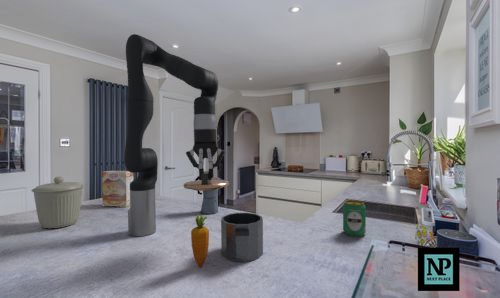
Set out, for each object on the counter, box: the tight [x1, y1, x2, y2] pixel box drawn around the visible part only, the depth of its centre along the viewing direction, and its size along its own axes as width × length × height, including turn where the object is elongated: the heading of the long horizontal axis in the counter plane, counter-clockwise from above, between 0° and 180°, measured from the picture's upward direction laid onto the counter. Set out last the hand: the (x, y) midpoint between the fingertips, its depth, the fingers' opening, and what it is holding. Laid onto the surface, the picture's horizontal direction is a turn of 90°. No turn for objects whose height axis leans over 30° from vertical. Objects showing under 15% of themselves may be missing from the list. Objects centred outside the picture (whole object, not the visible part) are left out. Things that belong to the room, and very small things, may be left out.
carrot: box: [190, 214, 210, 268], centre depth 72 cm, size 5×5×15 cm
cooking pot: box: [220, 212, 264, 263], centre depth 81 cm, size 13×17×11 cm
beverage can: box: [342, 199, 367, 238], centre depth 98 cm, size 8×8×12 cm
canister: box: [31, 176, 85, 230], centre depth 110 cm, size 18×18×21 cm
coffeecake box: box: [101, 170, 134, 208], centre depth 144 cm, size 15×7×20 cm, turn 81°
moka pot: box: [194, 175, 223, 215], centre depth 129 cm, size 10×15×20 cm, turn 78°
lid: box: [183, 170, 230, 192], centre depth 86 cm, size 15×15×5 cm
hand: (206, 179), depth 86 cm, fingers closed on lid
